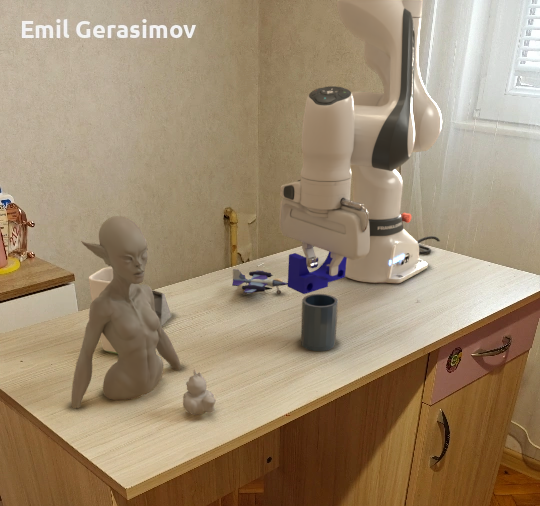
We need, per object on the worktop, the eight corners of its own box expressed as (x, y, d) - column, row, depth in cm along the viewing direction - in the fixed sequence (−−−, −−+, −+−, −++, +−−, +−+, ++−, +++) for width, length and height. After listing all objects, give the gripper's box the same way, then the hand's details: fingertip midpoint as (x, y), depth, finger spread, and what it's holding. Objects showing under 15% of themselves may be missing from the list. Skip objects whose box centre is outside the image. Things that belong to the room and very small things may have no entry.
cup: (129, 359, 137) (120, 283, 128) (95, 353, 139) (84, 278, 130) (147, 344, 142) (139, 270, 134) (115, 339, 144) (105, 265, 136)
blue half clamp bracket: (303, 294, 130) (305, 261, 127) (287, 286, 133) (288, 254, 130) (350, 279, 137) (353, 248, 133) (333, 272, 140) (336, 241, 136)
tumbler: (318, 333, 147) (320, 291, 142) (342, 344, 143) (345, 301, 137) (293, 342, 143) (294, 299, 138) (317, 354, 139) (319, 310, 134)
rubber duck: (198, 400, 124) (195, 358, 119) (226, 413, 120) (224, 370, 116) (175, 413, 120) (171, 369, 116) (203, 426, 117) (200, 382, 112)
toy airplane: (303, 296, 163) (303, 280, 161) (249, 308, 158) (249, 292, 155) (273, 278, 172) (273, 263, 170) (221, 289, 167) (221, 274, 165)
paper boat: (188, 312, 152) (160, 315, 145) (173, 334, 156) (144, 337, 148) (155, 271, 154) (125, 272, 147) (141, 293, 158) (111, 295, 151)
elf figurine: (97, 425, 117) (68, 239, 100) (67, 403, 123) (34, 224, 105) (205, 381, 130) (196, 209, 112) (173, 363, 135) (160, 197, 118)
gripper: (381, 202, 122) (374, 282, 130) (299, 179, 134) (297, 253, 142) (355, 208, 118) (349, 290, 126) (274, 185, 131) (273, 260, 139)
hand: (321, 270), depth 134 cm, fingers closed on blue half clamp bracket, 4 cm apart
